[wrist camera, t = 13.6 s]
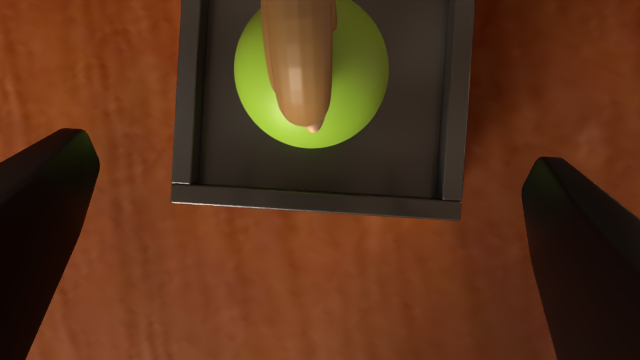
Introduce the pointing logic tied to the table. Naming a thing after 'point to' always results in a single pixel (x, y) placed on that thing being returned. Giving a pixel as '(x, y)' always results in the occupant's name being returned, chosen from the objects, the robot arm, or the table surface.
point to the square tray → (343, 158)
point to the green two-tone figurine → (311, 70)
